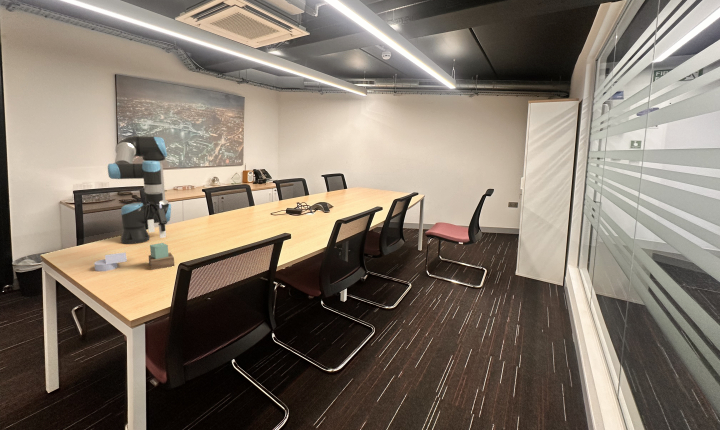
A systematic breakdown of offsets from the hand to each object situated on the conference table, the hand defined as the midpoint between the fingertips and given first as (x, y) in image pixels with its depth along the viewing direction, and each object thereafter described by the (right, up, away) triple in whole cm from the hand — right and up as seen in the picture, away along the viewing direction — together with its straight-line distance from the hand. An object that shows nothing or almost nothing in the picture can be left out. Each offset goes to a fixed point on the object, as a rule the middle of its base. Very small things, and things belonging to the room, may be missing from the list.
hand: (157, 234), depth 177 cm
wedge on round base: (-21, -16, -2) cm, 27 cm away
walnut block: (+1, -16, +3) cm, 16 cm away
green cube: (0, -11, +2) cm, 11 cm away
